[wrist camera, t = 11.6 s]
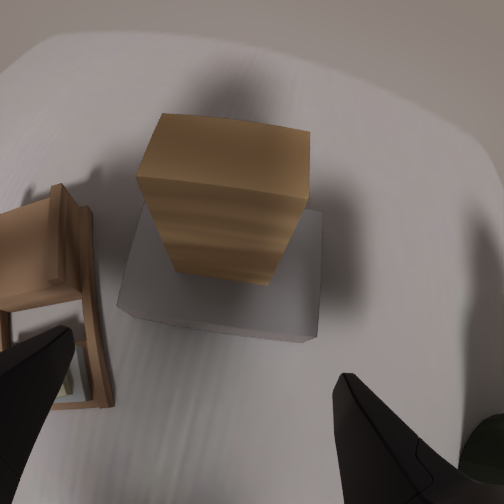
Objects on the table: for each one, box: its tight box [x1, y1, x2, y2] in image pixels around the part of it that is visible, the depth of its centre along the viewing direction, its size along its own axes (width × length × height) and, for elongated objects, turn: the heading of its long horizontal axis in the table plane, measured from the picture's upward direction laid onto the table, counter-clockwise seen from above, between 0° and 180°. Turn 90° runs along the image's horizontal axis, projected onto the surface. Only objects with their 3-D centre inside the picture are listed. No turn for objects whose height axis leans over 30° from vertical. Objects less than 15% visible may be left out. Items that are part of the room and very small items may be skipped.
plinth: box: [116, 201, 323, 343], centre depth 17 cm, size 7×10×3 cm
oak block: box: [136, 113, 310, 286], centre depth 12 cm, size 2×5×8 cm, turn 83°
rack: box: [0, 183, 115, 410], centre depth 14 cm, size 13×8×4 cm, turn 14°
